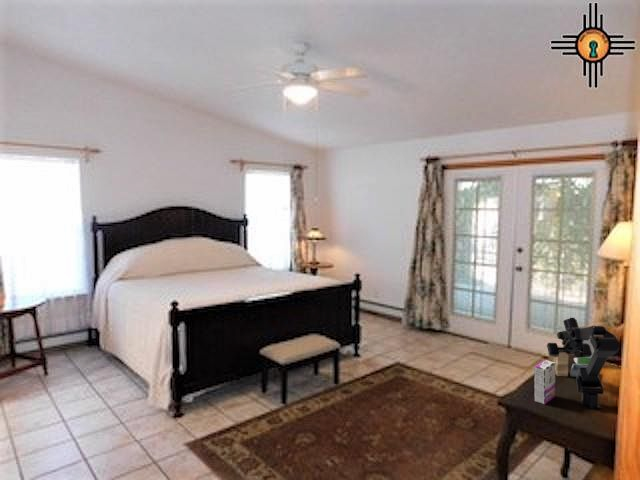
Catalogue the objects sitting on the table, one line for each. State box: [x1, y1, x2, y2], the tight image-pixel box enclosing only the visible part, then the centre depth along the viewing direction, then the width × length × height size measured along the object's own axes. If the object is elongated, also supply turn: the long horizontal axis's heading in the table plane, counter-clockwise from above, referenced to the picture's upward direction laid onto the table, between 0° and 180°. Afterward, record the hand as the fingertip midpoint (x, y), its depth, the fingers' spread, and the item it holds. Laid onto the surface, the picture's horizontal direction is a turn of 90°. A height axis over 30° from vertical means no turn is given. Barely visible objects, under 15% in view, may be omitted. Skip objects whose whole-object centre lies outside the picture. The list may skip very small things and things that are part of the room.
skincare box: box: [573, 339, 595, 366], centre depth 232 cm, size 8×7×16 cm
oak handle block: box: [553, 353, 569, 377], centre depth 219 cm, size 5×5×13 cm
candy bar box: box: [533, 359, 556, 405], centre depth 193 cm, size 11×5×16 cm, turn 129°
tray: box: [569, 363, 588, 378], centre depth 218 cm, size 10×10×3 cm
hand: (564, 356), depth 215 cm, fingers open, 9 cm apart
